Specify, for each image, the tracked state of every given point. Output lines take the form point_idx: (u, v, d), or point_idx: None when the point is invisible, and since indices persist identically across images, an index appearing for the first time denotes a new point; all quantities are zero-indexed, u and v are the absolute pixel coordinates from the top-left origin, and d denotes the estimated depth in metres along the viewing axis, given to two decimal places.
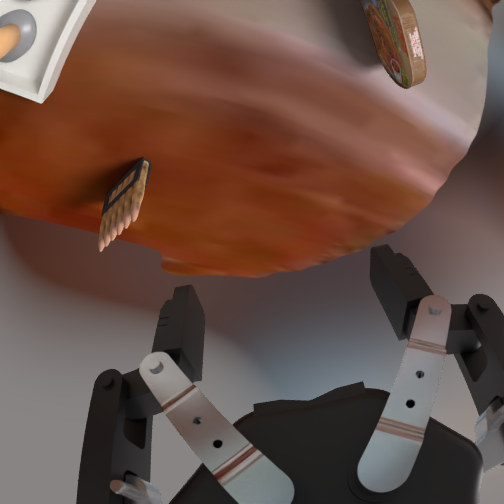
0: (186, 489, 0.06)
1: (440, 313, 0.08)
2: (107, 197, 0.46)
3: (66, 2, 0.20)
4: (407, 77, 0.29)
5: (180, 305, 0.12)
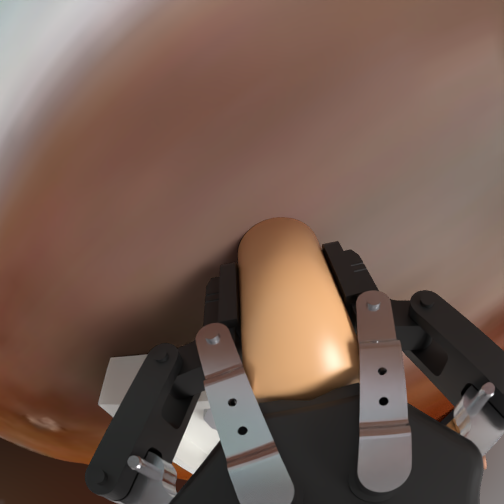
0: (186, 489, 0.06)
1: (377, 308, 0.09)
2: None
3: None
4: None
5: (229, 280, 0.12)
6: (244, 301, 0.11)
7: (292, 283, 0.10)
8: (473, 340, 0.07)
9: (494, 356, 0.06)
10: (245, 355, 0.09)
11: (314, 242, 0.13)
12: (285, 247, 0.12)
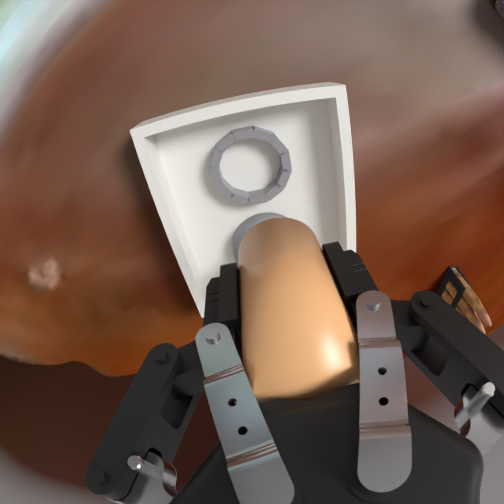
0: (186, 489, 0.06)
1: (377, 308, 0.09)
2: None
3: (312, 180, 0.29)
4: None
5: (229, 280, 0.12)
6: (244, 301, 0.11)
7: (292, 283, 0.10)
8: (474, 340, 0.07)
9: (494, 355, 0.06)
10: (245, 355, 0.09)
11: (314, 242, 0.13)
12: (286, 247, 0.12)
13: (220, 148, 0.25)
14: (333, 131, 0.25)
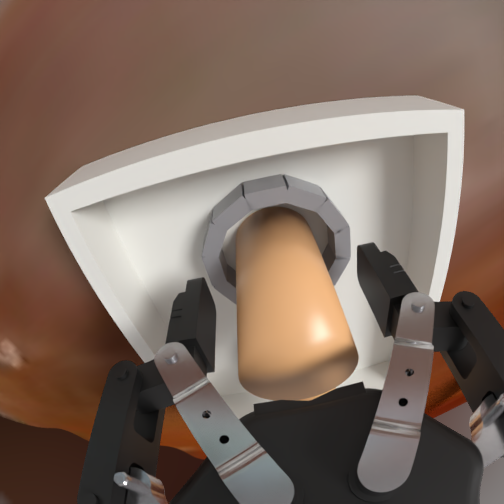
0: (186, 489, 0.06)
1: (423, 310, 0.09)
2: None
3: None
4: None
5: (193, 297, 0.12)
6: (240, 281, 0.12)
7: (283, 263, 0.11)
8: (503, 348, 0.06)
9: None
10: (239, 329, 0.10)
11: (306, 229, 0.14)
12: (278, 232, 0.13)
13: (221, 223, 0.14)
14: (423, 188, 0.13)
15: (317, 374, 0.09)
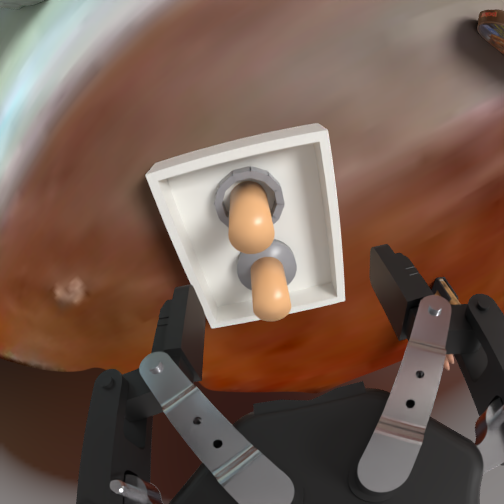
0: (186, 489, 0.06)
1: (440, 313, 0.08)
2: None
3: (303, 210, 0.34)
4: None
5: (180, 305, 0.12)
6: (230, 208, 0.29)
7: (246, 198, 0.28)
8: None
9: None
10: (229, 221, 0.27)
11: (260, 189, 0.31)
12: (247, 189, 0.30)
13: (222, 187, 0.31)
14: (319, 168, 0.30)
15: (258, 236, 0.27)
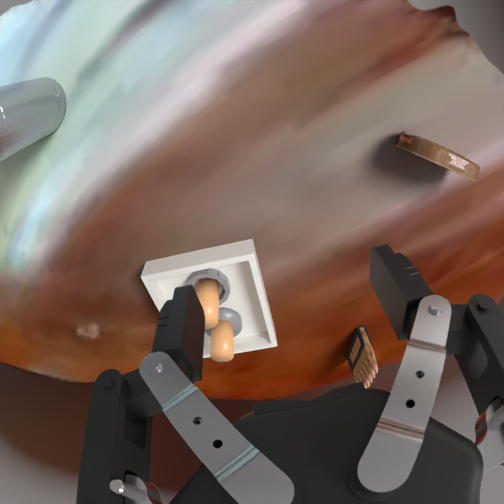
0: (186, 489, 0.06)
1: (440, 313, 0.08)
2: (348, 358, 0.65)
3: (244, 291, 0.52)
4: None
5: (180, 305, 0.12)
6: None
7: (203, 294, 0.46)
8: None
9: None
10: None
11: (214, 283, 0.49)
12: (204, 285, 0.47)
13: (190, 282, 0.48)
14: None
15: (209, 320, 0.44)
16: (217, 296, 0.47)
